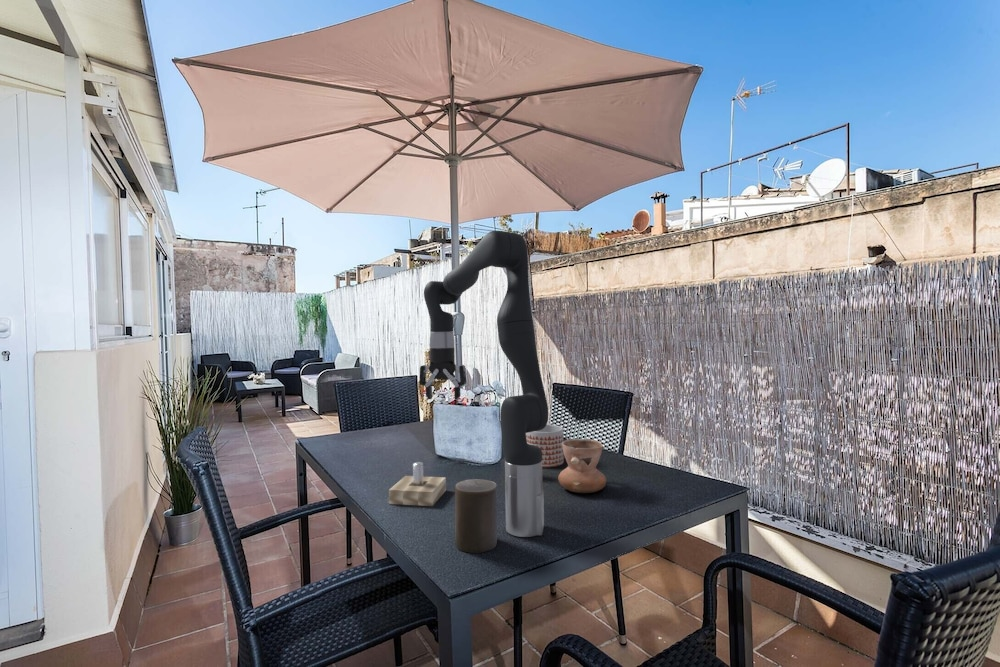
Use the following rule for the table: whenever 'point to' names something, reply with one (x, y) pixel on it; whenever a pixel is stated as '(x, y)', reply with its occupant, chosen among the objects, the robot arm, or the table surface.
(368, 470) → the table surface
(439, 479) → the oak hole block
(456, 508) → the pillar candle
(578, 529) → the table surface
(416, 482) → the steel pin
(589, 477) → the terracotta incense burner
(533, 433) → the planter
